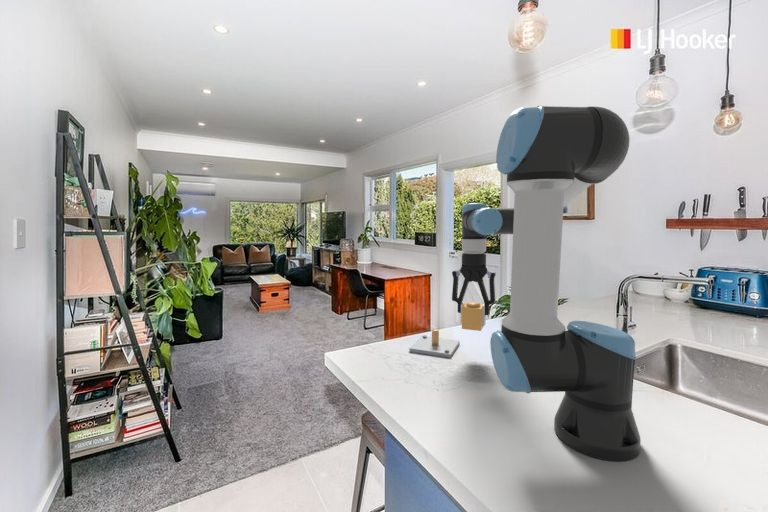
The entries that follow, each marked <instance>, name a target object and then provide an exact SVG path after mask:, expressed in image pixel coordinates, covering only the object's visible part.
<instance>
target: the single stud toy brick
mask: <svg viewBox="0 0 768 512" xmlns="http://www.w3.org/2000/svg"><path fill="white" fill-rule="evenodd" d="M482 305H483V304H481V303H480V302H475V301H469V302H465V305H464V306H463V307H462V324H461V330H468V331H469V330H470V331H477V332H478V331H479V332H482V330H483V328H484V327H485V326H482Z"/></svg>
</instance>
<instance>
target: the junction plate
mask: <svg viewBox="0 0 768 512" xmlns="http://www.w3.org/2000/svg"><path fill="white" fill-rule="evenodd" d="M460 343H461V342H460V340H457V339H449V338H441V337H440V330H439V329H436V328H435V329H431V336H427V335H422V336H420V337H419V338H418V339H417V340H416V341H415V343H412V345H411V346H410V347H409V350H408V351H409V353H417V354H422V355H423V354H424V355H429V356H435V357H444V358H450V359H451V357H453V355H454V353H455V351H457V349H458V347H459V345H460Z"/></svg>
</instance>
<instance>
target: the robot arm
mask: <svg viewBox="0 0 768 512" xmlns="http://www.w3.org/2000/svg"><path fill="white" fill-rule="evenodd" d="M630 140H631V139H630V134H629V129H628V126H627V124H626V123H625V121H624V120H623V118H622V117H621V116H619V114H617V113H615V112H614V111H612V110H611V109H608V108H605V107H603V106H547V105H546V106H544V105H537V106H530V107H520V108H517V109H516V110H514V111H513V112H512V113H511V114H510V115H509V116H508V117H507V119H506V120H505V123H504V125H503V126H502V129H501V132H500V136H499V140H498V143H497V148H496V155H495V156H496V159H495V160H496V161H495V163H496V168H497V170H498V172H500V174H503V175H506V185H507V186H508V187H509V188H510V189H511V190H512V191H513V194H514V199H513V200H514V202H513V204H514V206H513V207H509V208H508V207H507V208H506V207H505V208H503V207H502V208H500V207H499V208H497V207H495V208H492V207H487V205H486V204H485V203H481V202H480V203H479V202H477V203H475V202H474V203H471V202H470V203H465V204H463V206H462V209H461V210H462V211H461V212H462V213H461V228H462V229H461V236H462V237H461V252H462V253H461V267H460V269H454V270H452V272H451V275H452V278H453V279H452V292H451V293H452V294H451V300H452V302H455V303H457V313H459V314H460V324H461V325H462V307H463V306H464V305H465V304H466V302H463V300H464V298H465V295H466V292H467V288H468V285H469V283H471V282H475V283H477V284H478V286H479V287H478V288H479V291H480V294H481V297H482V300H483V304H481V305H482V326H484V327H485V326H486V321H487V320H486V318H487V317H486V316H489V315H490V306H491V305H494V304H495V302H496V289H495V288H496V287H495V277H496V275H497V272H496V271H490V270H488V268H487V254H486V253H485V252H487V236H491V235H512V249H511V250H512V255H511V274H510V275H511V276H510V277H511V278H510V279H511V281H510V303H509V304H510V305H509V307H510V308H509V314H507V315H506V316H505V317H504V318H502V320H501V330H496V331H494V332H492V334H491V337H490V341H489V343H490V346H489V347H490V353H491V360H492V364H493V367H494V370H495V373H496V376H497V378H498V381H499V382H500V384H501V385H502V387H503V388H505V390H507V391H509V392H514V393H526V394H531V393H558V392H561V393H562V392H564V395H563V397H562V400H561V402H560V404H559V406H558V408H557V411H556V413H555V415H554V421H553V423H554V425H553V430H554V433H555V434H556V436H557V437H558V438H559V439H560V440H561V441H562V442H563V443H564V444H566V445H567V446H568V447H570V448H571V449H573V450H575V451H577V452H579V453H581V454H584V455H587V456H589V457H593V458H595V459H601V460H604V461H605V460H606V461H614V462H615V461H616V462H624V461H629V460H632V459H635V458H637V456H638V455H640V452H641V441H642V440H641V435H640V433H639V429H638V425H637V423H636V420H635V415H634V413H633V409H632V408H633V406H632V405H633V394H634V393H633V392H634V378H635V377H634V375H635V365H636V363H635V362H636V359H637V356H636V342H635V339H634V338H633V336H631V334H628V333H627V332H625V331H624V330H621V329H618V328H615V327H613V326H608V325H606V324H603V323H602V324H601V323H598V322H597V323H596V322H591V321H584V320H572V321H569V322H568V324H567V325H565V324H563V322H561V321H560V319H559V318H558V310H559V296H560V293H559V292H560V291H559V290H560V277H561V272H560V271H561V259H562V258H561V257H562V255H561V254H562V237H563V222H564V221H563V219H564V208H565V207H567V205H569V204H570V203H571V202H572V201H573V200H575V199H576V198H577V197H578V196H579V195H581V194H582V193H583V192H584V191H586V190H587V189H588V188H589V187H590V186H592V185H597V184H600V183H602V182H604V181H606V180H607V179H608V178H609V177H611V175H613V174H614V173H615V172H616V171H617V170H618V169H619V168H620V167H621V165H622V164H623V163H624V161H625V159H626V157H627V154H628V151H629V148H630ZM461 275H462V277H463V278H464V279H463V283H462V287H461V290H460V292H459V291H458V290H459V281H460V279H459V277H460V276H461ZM486 275H487V278H488V279H489V296H490V297H489V296H488V293H487V289H486V287H485V283H484V278H485V276H486ZM458 292H459V295H458Z"/></svg>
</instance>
